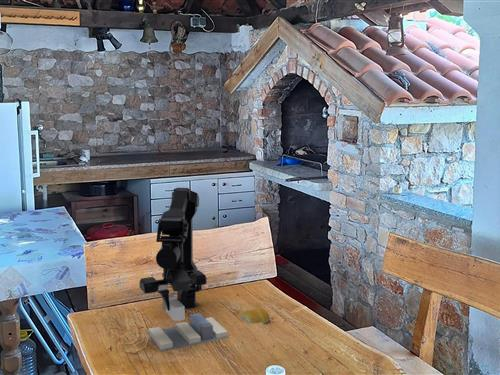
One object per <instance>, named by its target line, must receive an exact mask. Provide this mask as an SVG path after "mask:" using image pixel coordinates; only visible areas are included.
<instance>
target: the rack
mask: <svg viewBox="0 0 500 375" xmlns="http://www.w3.org/2000/svg"><path fill="white" fill-rule="evenodd" d="M204 318H205V319H206V320H207V321H208V322H209V323H211V324H212V325H213V338H212V339H207V340H202V339H201V337H200V336H199V335H198V334H197V333H196V331H195V330H194V329H193V328H192V327H191V326H190V323H188V322H187V321H184V322H183V321H182V322H177V323H175V326H173V327H168V328H164V329H163V328H161V326H156V327H155V326H154V327H151V328H148V331H147V332H146V334H147V335H148V336H149V338H150V339H151V340H152V341H153V343H154V344H155V345H156V347H157V348H158V349H159V351H160V352H161V353H162V352H167V351H172V350H177V349H181V348H186V347H190V346H195V345H200V344H201V345H202V344H204V343H210V342H211V343H212V342H215V341H220V340H226V339H229V338H230V336H229V335H228V331H227V330H226V329H225V328H224V327H223V326H222V325H221V324H220V323H219V322H217V321H216V319H215V318H214V317H212V316H211V317H204Z"/></svg>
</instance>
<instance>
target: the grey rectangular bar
mask: <svg viewBox="0 0 500 375" xmlns="http://www.w3.org/2000/svg"><path fill="white" fill-rule="evenodd" d="M189 315H190V319H189V320H190V323H189V324H190V326H191V327H192V328H193V329H194V330H195V331H196V333H197V334H198V335H199V336H200V337H201V339H202V340H207V339H212V338H213V325H212V324H211V323H209V322H208V321H207V320H206V319H205V318H206V317H204V316H203V315H202V314H201V313H200V312H198V313H192V314H189Z"/></svg>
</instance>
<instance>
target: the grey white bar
mask: <svg viewBox="0 0 500 375" xmlns="http://www.w3.org/2000/svg"><path fill="white" fill-rule="evenodd" d="M169 304H170V310H169V311H168V310H167V308H166V306H165V303H164V301H163V300H162V309H163V311H164V312H165V313H166V314H167V315H168V316H169V317H170V318H171V319H172V320H173V321H174V322H179V321H184V320H186V319H185V318H186V317H185V316H186V315H185V313H186V312H185V309H186V308H185V306H184V305H183V304H182V303H181V302H180V301H179V300H178V299H177V296H175V295H174V294H169Z"/></svg>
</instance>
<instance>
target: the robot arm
mask: <svg viewBox="0 0 500 375" xmlns="http://www.w3.org/2000/svg"><path fill="white" fill-rule="evenodd" d="M199 207H200V196H199V194H198V192H196V191H194V190H191V188H188V187H175V188H173V191H172V192H171V201H170V206H169V208H168V209H167V210H166V211H164V212H162V215H161V216H160V218H159V219H158V222H157V232H156V241H155V242H156V243H161V246H160V249H159V250H158V252H157V253H156V256H155V262H156V264H157V266H158V267H160V268H161V269H162V270H163V271H162V274H161V276H162V278H163V279H156V278H155V277H154V276H150V277H142V278H140V280H139V283H138V284H139V288H140V290H141V291H142V293H144V294H152V293H156V292H157V293H158V294H160V296H161V298H162V302H163V301H164V303H165V306H166V308H167V310H168V311H169V310H170V304H169V295H170V290H169V288H168V286H171V289H172V290H173V292H177V293H176V294H177V295H176V298H177V299H178V300H179V301H180V302H181V303H182V304H183V305H184V306H185V309H187V310H189V309H194V308H196V307H198V306H199V304H197V295H196V294H197V293H199V292H200V291H202V288H203V285H206V284H207V275H206V274H205V273H203V272H202V271H201V270H198V267H197V265H196V264H195V262H194V259H193V258H194V256H193V253H194V251H193V250H194V249H193V247H194V246H193V245H194V244H193V236H194V235H193V234H194V233H193V232H194V231H193V225H194V224H193V220H194V219H193V218H194V217H195V215H196V214H197V211H198V208H199Z"/></svg>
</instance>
